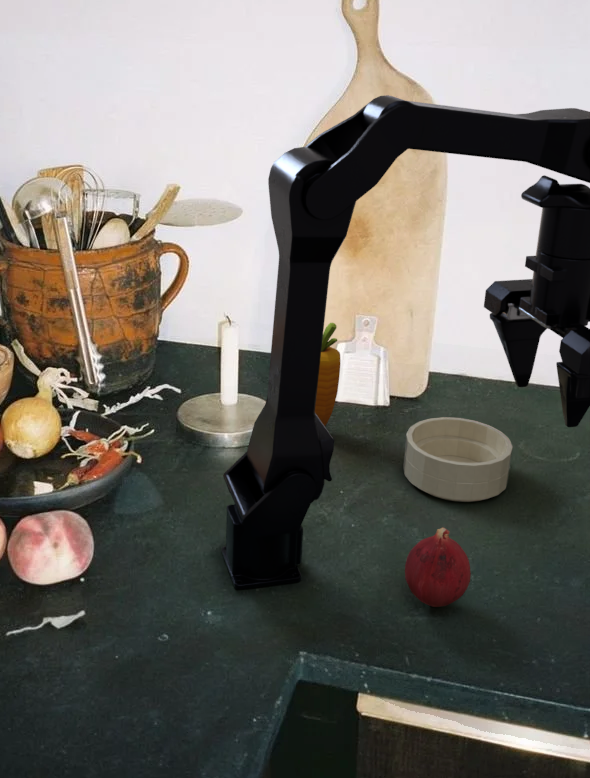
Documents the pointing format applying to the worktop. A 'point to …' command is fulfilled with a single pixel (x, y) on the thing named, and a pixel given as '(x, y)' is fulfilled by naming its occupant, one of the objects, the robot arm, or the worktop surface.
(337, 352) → the carrot
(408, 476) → the bowl
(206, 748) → the worktop surface
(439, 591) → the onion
